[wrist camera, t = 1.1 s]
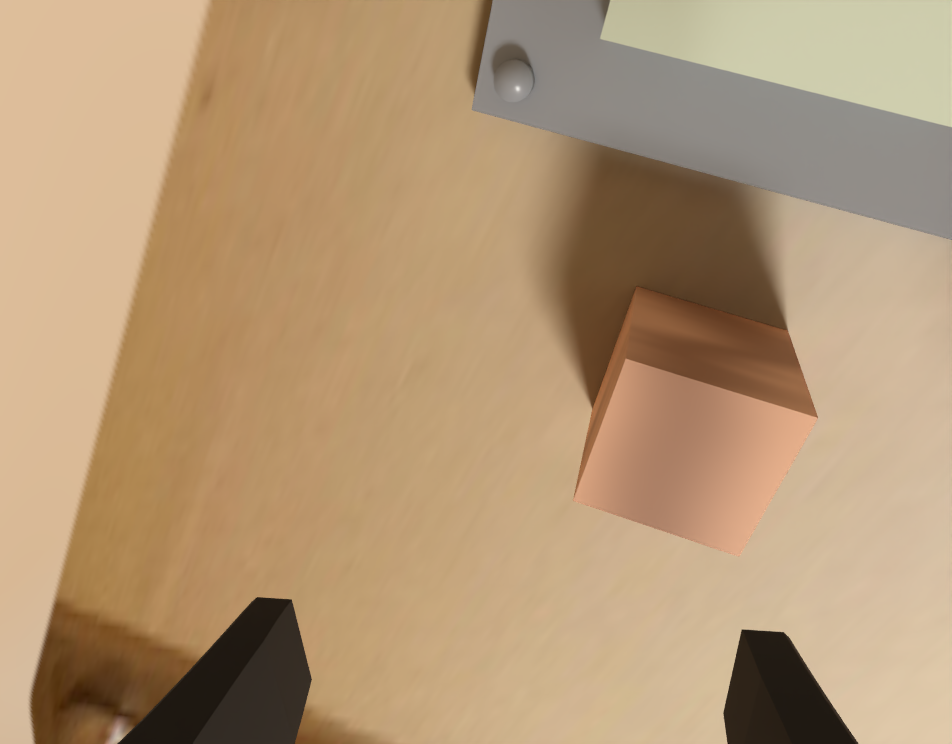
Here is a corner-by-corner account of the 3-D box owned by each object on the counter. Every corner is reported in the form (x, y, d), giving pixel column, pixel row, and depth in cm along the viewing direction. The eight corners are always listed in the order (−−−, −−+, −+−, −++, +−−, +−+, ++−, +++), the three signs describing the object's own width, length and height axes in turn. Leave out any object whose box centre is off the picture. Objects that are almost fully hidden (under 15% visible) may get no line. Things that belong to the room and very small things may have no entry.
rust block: (787, 329, 20) (818, 417, 15) (726, 450, 22) (739, 556, 18) (636, 285, 20) (625, 358, 16) (592, 407, 23) (573, 500, 18)
